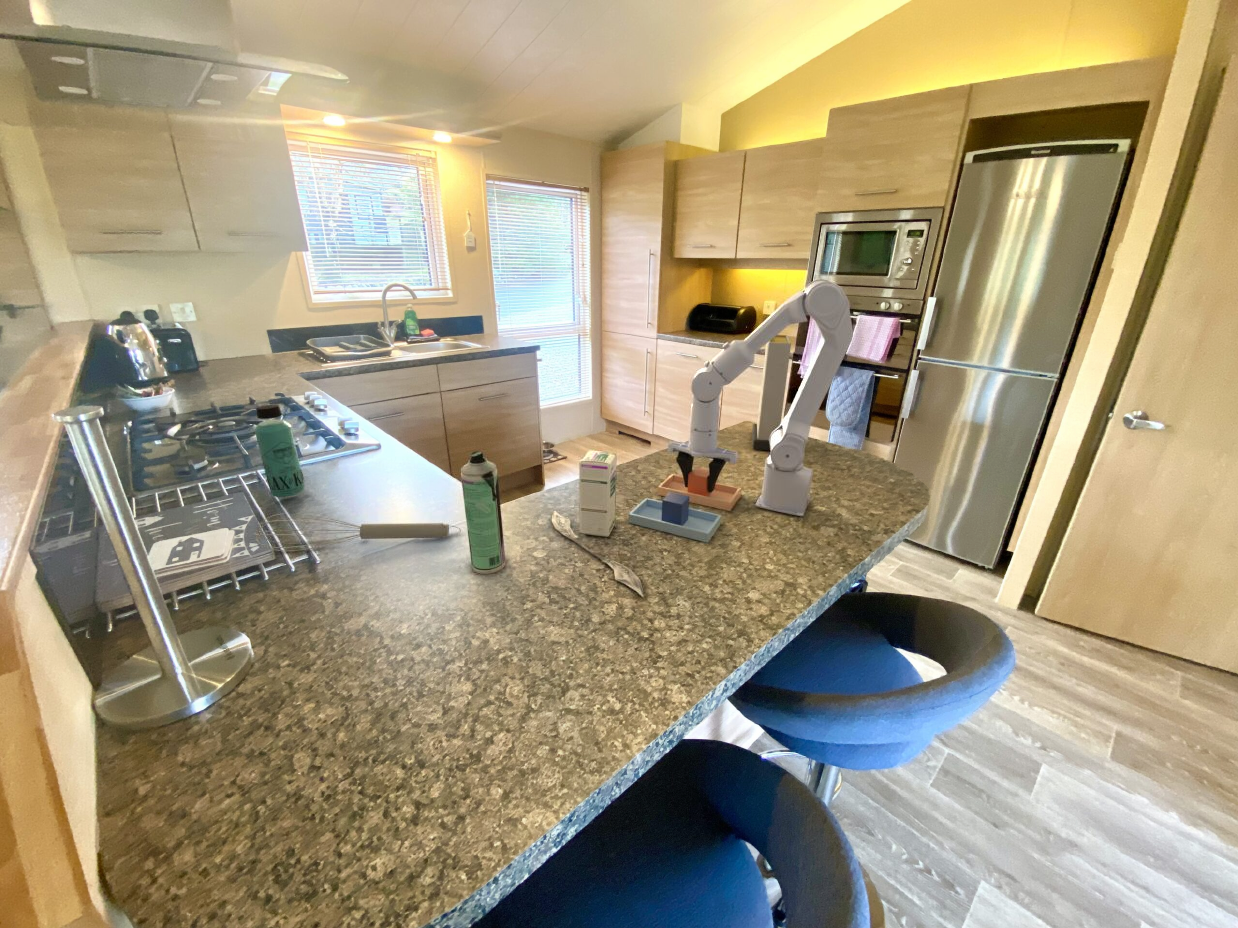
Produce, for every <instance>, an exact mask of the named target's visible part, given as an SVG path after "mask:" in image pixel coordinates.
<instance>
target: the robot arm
mask: <svg viewBox="0 0 1238 928" xmlns="http://www.w3.org/2000/svg"><path fill="white" fill-rule="evenodd" d="M850 305H851V304H850V300H849V298H848V296H847V295H846V293H845V291H844V290H843V289H842V287H841V286H840V285H839V284H838V283H836V282H832V281H829V280H828V279H823V278H819V279H815V280H813V281H811V282H809V283H807V285H806V286H805V287H804V288H803V290H799V291H796V293H794V294H793V295H792V296H791V297H789V298H788V299H786V300H785V301H784V302H783V303H782V304H781V305H779V306H778V307H777V308H776V309H775V310H774V311H773V312H772V313H771V314H770V315H769V316H768V317H767V318H766V319H765V320H764V321H762V322H761V324H760V325H758V326H757V328H755V329H754V330H753V331H752V332H751V333H750V334H749V335H748V336H747V337H745V339H734V340H732V341H731V342H730V343H729V342H728V341H727V342H726V343H724V344H723V345H722V350H721V351H720V352H719V353H718V354H717V355H716V356H715V357H713V358H712V360H710V361H709V360H707V361H705V362H704V364H703V366H704V367H702V368H700V369H699V370H698V371H697V372H696V373H695V375H694V376H693V380H692V381H691V384H690V385H691V386H690V389H691V393H692V396H691V403H692V404H690V405H691V406H690V418H689V433H688V441H675V440H671V441H670V442H669V443H668V444H667V453H677V456H676V457H675V461H676V464H677V465H678V467H679V469H680V472H681V474H682V475H681V476H683V478H684V483H685V487H687V488H688V475H689V473H690V472H691V471H692V470H693V467H694V465H693V464H694V460H695V458H704V459H705V458H706V459H711V461H710V462H709V463H708V470H709V486H708V492H712V491H713V490H714V488H715V484H716V483H717V481H718V479H719V476H720V473H721V472H722V471H723V468H724V466H725V465H726V463H729V464H731V465H736V463H737V462H738V458H739V457H738V456H739V452H737V451H733V450H730V449H726V448H723V447H721V446H718V434H719V422H720V409H721V407H720V396H721V393H722V391H723V387H724V386H728V385H730V384H731V383H732V382H733V381H734V380H735V379H737V378H738V377H739V376H741V374H742V373H744V372H745V371H746V370H747V369H748V368H749V367H750V366H752V365H753V364H754V363H755V354H756V353H757V352H758V351H760V350H761V349H762V348H763V347H764V346H766V343H768V342H769V341H770V340H771V339H773V338H774V337H775V336H776V335H780V333H781V332H782V331H784V330H785V329H786V328H787V327H789V326H791V325H795V324H801V323H806V322H808V318H807V315H808V316H810V317H811V319H813V320H814V322H815V325H816V327H817V329H818V331H819V334H820V336H821V339H820V342H819V344H818V346H817V348H816V349H815V353H814V355H813V357H812V359H811V361H810V364H809V366H808V368H807V370H806V372H805V374H804V377H803V379H802V381H801V383H800V386H799V387H798V391H797V392H796V394H795V397H794V398H793V401H792V403H791V405H790V407H789V410H788V412H787V413H786V415H784V417H783V418H782V419H781V424H780V426H779V427H778V428H777V429H775V430H774V431H773V432H772V434H771V435H770V438H769V444H770V448H771V451H770V452H769V453H770V454H769V456H768V457H766V458H765V464H764V471H763V479H762V488H761V494H760V496H759V497H758V499H757V501H756V503H755V505H754V506H755V507H756V508H760V509H764V510H769V511H774V512H778V513H783V514H786V515H787V514H788V515H792V516H797V517H803V516H804V515H805V512H806V510H807V508H808V505H810V501H811V490H812V484H813V476H814V469H813V468H810V467H806V466H804V463H803V462H804V460H805V455H806V454H805V453H806V452H805V448H806V445H807V442H808V440H809V435H810V431H811V426H812V424H813V422H814V420H815V418H816V416H817V414H818V412H819V409H820V407H821V405H822V403H823V401H824V400H825V397H826V395H827V393H828V391H829V389H830V387H831V384H833V383H832V382H833V380H834V378H835V376H836V375H837V372H838V370H839V369H840V366H841V364H842V361H843V360H844V358H845V355H846V353H847V351H848V349H849V347H850V345H851V343H852V341H853V338H854V330H853V323H852V317H851V310H850V308H851V307H850Z"/></svg>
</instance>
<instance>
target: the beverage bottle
mask: <svg viewBox="0 0 1238 928" xmlns="http://www.w3.org/2000/svg"><path fill="white" fill-rule="evenodd" d="M255 410H256V417H257V419H260V420H264V421H261V422H259V423H258V424H257V425H256V426H255V428H254V431H253V432H254V433H255V438H256V442H257V445H258V449H259V453H260V459H261V463H262V468H263V471H264V477H265V478H266V480H265V481H266V484H267V486H268V489H269V493H270V494H271V496H272V497H276V498H285V497H292V496H295V495H298V494H300V493H302V492H304V490H305V487H306V484H305V483H306V482H305V478H304V474H303V470H302V467H301V461H300V457H299V455H298V451H297V449H298V447H297V446H296V443H295V439H294V435H293V431H292V425H291V424H290V423H289V422H287V421H286V420H283V419H275V418H278V417H281V416H283V412H282V410H281V407H280V405H279V404H277V403H276V404H275V403H270V404H262V405H259V406H257V407H255Z"/></svg>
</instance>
